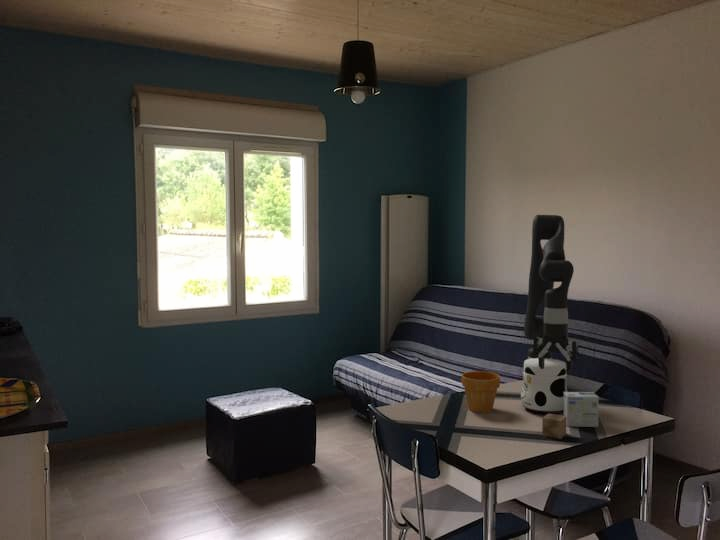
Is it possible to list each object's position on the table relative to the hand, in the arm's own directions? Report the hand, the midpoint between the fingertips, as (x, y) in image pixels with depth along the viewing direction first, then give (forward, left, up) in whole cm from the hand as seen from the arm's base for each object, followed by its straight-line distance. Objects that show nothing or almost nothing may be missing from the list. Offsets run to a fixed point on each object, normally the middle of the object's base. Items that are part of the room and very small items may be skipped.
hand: (555, 370), depth 201 cm
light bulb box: (+4, +16, -22) cm, 27 cm away
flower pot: (-32, +13, -22) cm, 41 cm away
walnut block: (0, 0, -22) cm, 22 cm away
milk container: (-12, +26, -22) cm, 36 cm away
